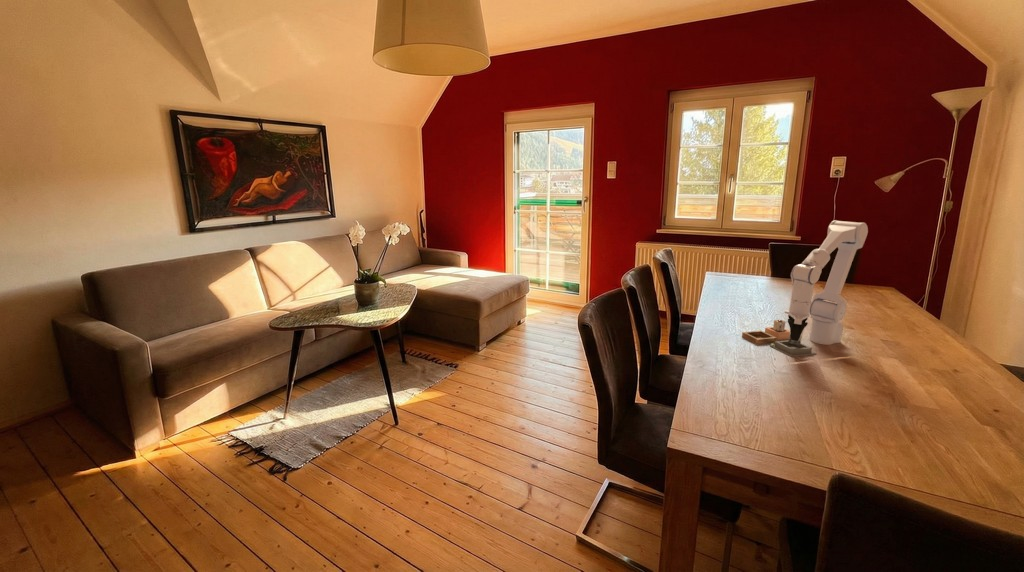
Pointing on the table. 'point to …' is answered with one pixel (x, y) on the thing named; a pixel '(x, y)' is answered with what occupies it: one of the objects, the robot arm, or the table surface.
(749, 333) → the brown square tray
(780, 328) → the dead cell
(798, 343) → the cell
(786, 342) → the cradle
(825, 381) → the table surface
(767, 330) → the orange square box
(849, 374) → the table surface
